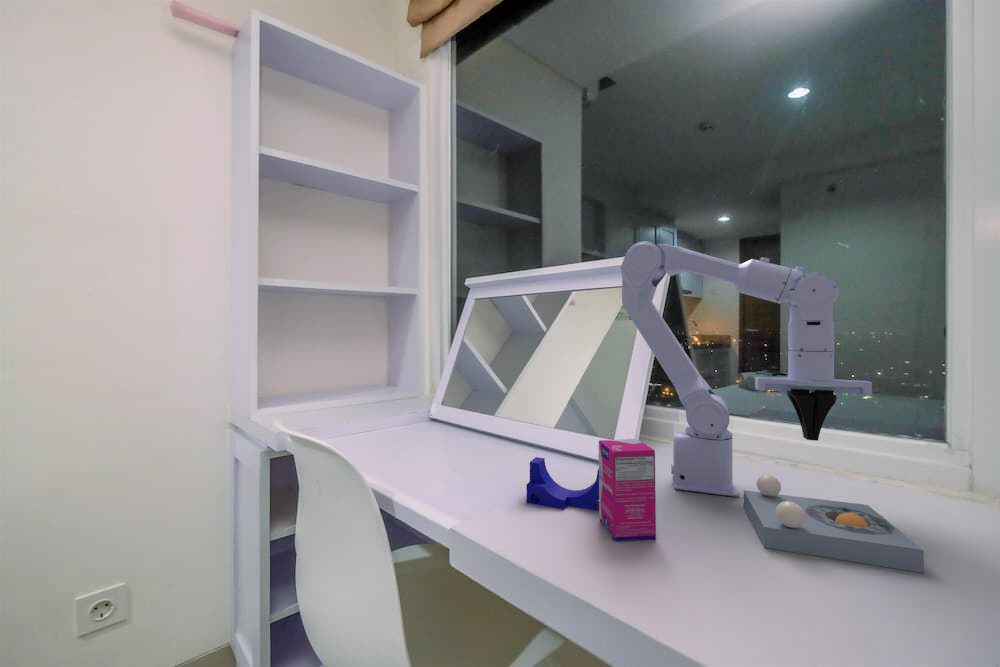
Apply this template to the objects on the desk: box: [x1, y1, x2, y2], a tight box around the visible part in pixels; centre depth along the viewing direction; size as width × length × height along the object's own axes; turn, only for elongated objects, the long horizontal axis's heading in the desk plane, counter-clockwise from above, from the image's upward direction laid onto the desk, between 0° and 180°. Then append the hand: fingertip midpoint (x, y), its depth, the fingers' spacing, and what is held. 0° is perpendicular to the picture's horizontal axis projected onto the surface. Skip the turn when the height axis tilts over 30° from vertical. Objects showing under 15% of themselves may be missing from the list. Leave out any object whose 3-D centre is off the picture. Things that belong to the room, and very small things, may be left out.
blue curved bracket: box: [526, 456, 599, 512], centre depth 64 cm, size 12×4×6 cm, turn 67°
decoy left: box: [756, 474, 782, 497], centre depth 61 cm, size 3×3×3 cm
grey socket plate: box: [743, 489, 925, 574], centre depth 54 cm, size 15×13×2 cm
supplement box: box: [598, 438, 657, 542], centre depth 55 cm, size 6×6×12 cm
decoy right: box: [776, 501, 806, 528], centre depth 51 cm, size 3×3×3 cm
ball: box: [835, 513, 869, 527], centre depth 52 cm, size 3×3×3 cm
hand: (810, 438), depth 64 cm, fingers closed
